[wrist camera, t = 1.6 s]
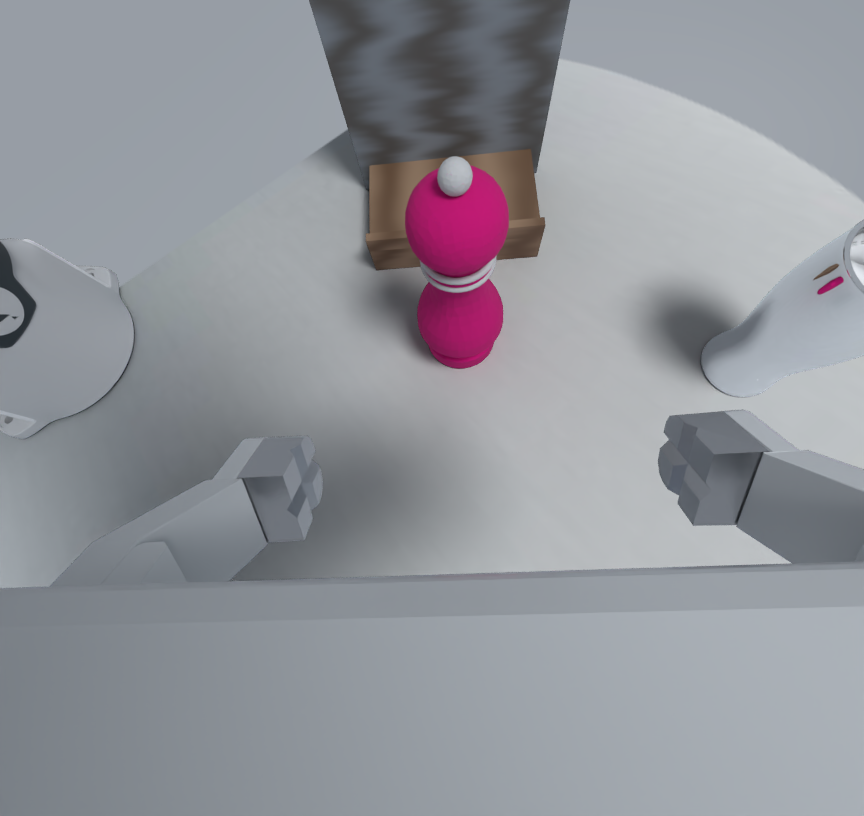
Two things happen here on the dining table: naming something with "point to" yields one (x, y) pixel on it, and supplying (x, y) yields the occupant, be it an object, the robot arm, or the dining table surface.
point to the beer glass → (796, 323)
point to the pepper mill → (458, 259)
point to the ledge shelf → (444, 101)
